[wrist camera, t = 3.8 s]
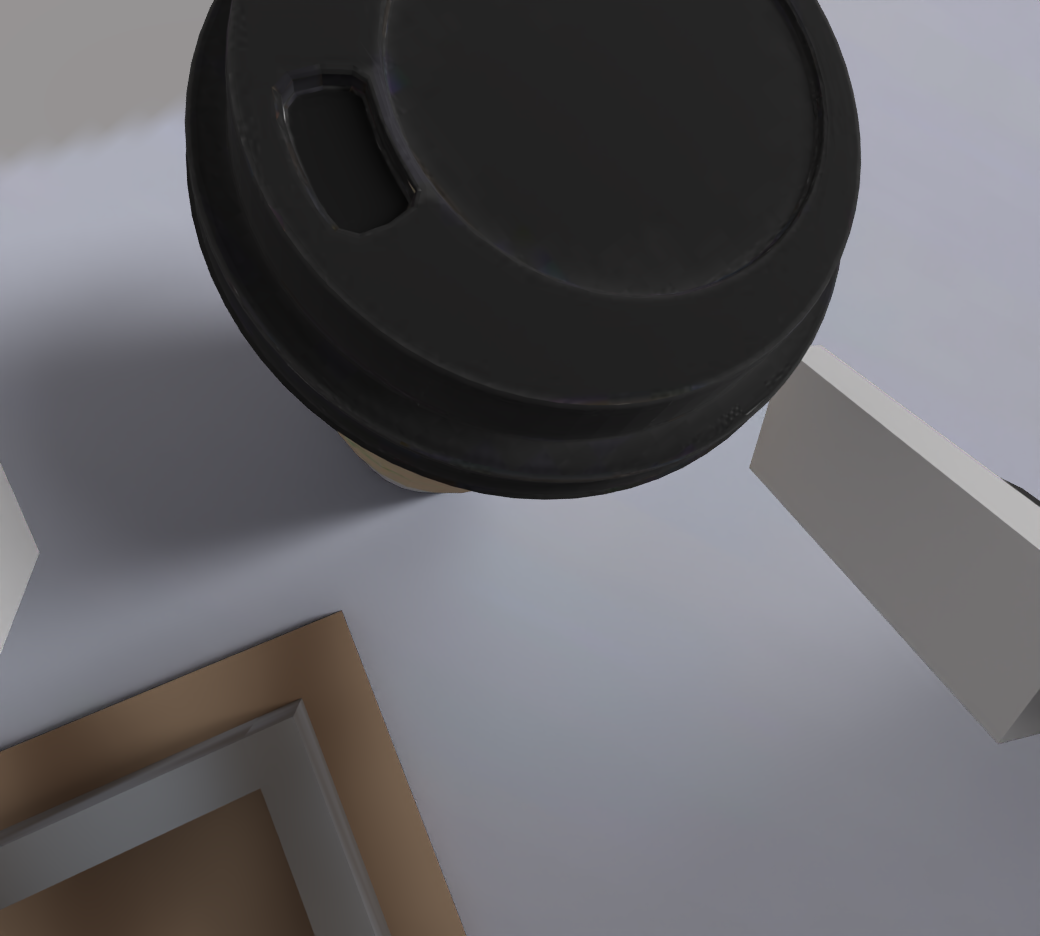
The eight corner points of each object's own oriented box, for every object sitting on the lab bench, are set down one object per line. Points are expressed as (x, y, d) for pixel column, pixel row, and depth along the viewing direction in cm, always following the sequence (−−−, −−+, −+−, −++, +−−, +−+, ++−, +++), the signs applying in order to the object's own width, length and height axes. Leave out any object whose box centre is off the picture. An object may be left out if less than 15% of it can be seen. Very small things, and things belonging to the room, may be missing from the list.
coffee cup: (213, 415, 21) (-77, 57, 7) (415, 206, 24) (510, -375, 9) (459, 612, 22) (659, 656, 8) (630, 389, 25) (1023, 105, 10)
